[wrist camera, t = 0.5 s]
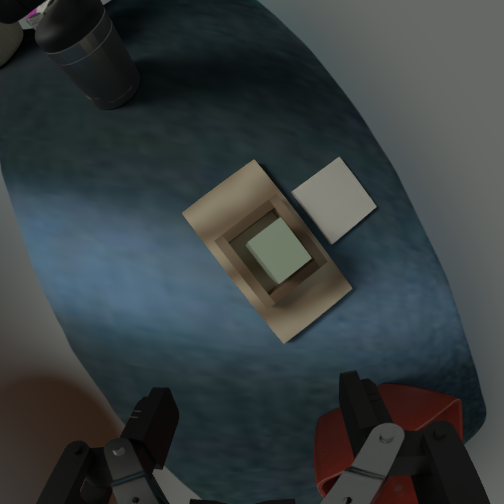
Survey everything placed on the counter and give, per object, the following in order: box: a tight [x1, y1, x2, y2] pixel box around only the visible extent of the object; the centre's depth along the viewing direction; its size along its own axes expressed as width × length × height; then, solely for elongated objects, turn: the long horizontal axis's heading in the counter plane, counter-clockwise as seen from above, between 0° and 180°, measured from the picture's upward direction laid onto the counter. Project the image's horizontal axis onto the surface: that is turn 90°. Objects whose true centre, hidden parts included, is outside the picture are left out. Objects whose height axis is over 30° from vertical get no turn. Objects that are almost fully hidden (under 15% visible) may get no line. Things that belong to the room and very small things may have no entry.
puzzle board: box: [182, 160, 352, 344], centre depth 37 cm, size 22×12×4 cm, turn 38°
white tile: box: [291, 157, 376, 244], centre depth 39 cm, size 9×9×1 cm
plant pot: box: [314, 383, 463, 504], centre depth 31 cm, size 19×19×17 cm
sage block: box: [246, 217, 311, 284], centre depth 33 cm, size 5×4×10 cm
